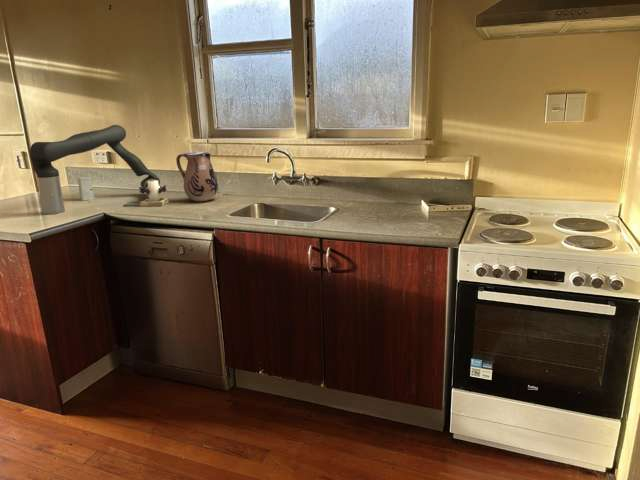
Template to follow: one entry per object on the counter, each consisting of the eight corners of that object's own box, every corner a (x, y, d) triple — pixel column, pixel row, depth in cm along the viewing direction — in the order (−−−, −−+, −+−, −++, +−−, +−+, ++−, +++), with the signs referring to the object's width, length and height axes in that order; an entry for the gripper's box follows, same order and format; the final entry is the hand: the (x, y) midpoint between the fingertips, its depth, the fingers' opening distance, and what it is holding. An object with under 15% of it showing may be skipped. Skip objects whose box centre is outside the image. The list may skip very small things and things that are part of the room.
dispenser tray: (162, 206, 238) (161, 201, 237) (140, 206, 238) (140, 202, 238) (169, 202, 249) (168, 198, 248) (148, 202, 249) (148, 198, 248)
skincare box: (83, 200, 256) (79, 178, 253) (80, 199, 259) (76, 177, 256) (94, 199, 260) (91, 177, 257) (92, 198, 263) (88, 176, 260)
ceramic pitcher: (214, 203, 244) (210, 154, 237) (174, 203, 245) (169, 154, 238) (222, 197, 261) (218, 151, 254) (184, 197, 261) (179, 151, 255)
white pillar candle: (158, 205, 241) (155, 181, 238) (148, 205, 241) (145, 181, 238) (162, 203, 246) (159, 179, 243) (152, 203, 246) (149, 179, 243)
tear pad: (140, 206, 239) (140, 204, 239) (123, 206, 239) (123, 204, 239) (148, 202, 248) (147, 201, 248) (131, 202, 249) (130, 201, 248)
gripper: (137, 180, 251) (138, 185, 236) (165, 178, 256) (168, 183, 241) (138, 194, 253) (140, 200, 238) (166, 192, 258) (169, 197, 243)
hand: (154, 191), depth 239 cm, fingers closed on white pillar candle, 5 cm apart
